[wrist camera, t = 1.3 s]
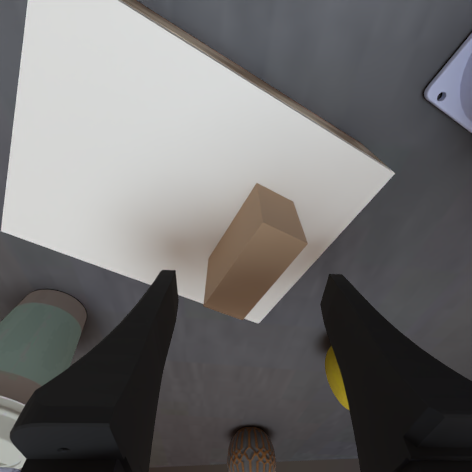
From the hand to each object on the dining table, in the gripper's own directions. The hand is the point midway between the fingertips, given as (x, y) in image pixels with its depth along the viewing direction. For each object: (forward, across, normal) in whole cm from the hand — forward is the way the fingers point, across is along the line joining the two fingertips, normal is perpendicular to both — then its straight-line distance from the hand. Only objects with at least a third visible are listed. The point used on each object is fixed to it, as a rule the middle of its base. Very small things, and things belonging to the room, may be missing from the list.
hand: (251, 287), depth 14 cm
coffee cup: (+10, +18, +14) cm, 25 cm away
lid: (+6, +4, -2) cm, 7 cm away
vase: (+10, -3, +41) cm, 42 cm away
